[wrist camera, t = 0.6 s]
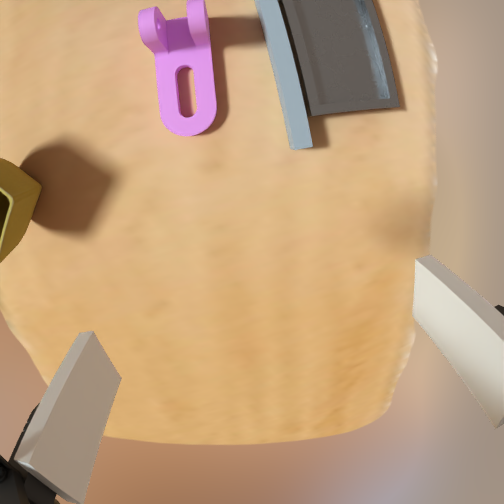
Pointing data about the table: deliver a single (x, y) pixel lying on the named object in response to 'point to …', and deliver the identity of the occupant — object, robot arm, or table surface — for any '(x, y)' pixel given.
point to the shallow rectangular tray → (339, 55)
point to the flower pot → (15, 205)
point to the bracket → (181, 64)
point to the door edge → (285, 74)
